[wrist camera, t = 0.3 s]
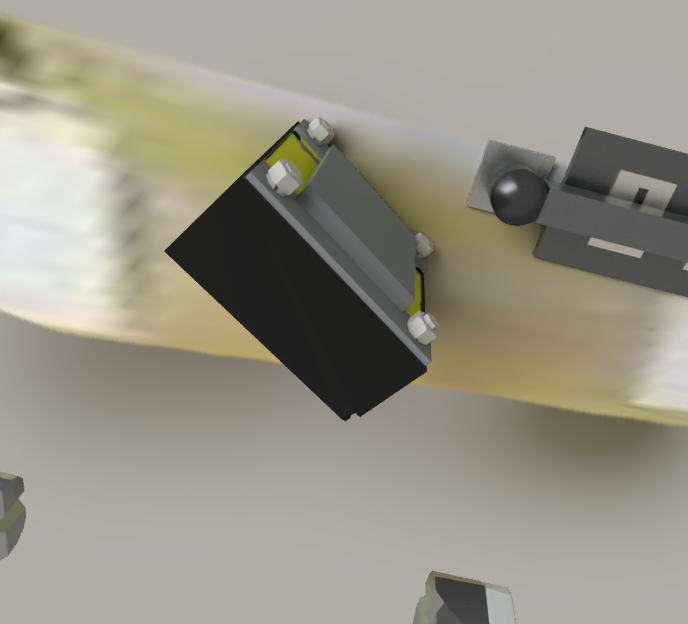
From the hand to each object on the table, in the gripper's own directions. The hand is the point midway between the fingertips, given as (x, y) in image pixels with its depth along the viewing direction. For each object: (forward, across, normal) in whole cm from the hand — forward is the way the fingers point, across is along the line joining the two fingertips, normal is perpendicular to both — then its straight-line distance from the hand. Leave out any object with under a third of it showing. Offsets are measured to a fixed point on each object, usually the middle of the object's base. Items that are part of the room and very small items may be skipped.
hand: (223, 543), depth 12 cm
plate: (+47, -28, +2) cm, 55 cm away
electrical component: (+47, +1, +9) cm, 48 cm away
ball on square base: (+47, -13, +2) cm, 49 cm away
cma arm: (+44, -23, +2) cm, 50 cm away
